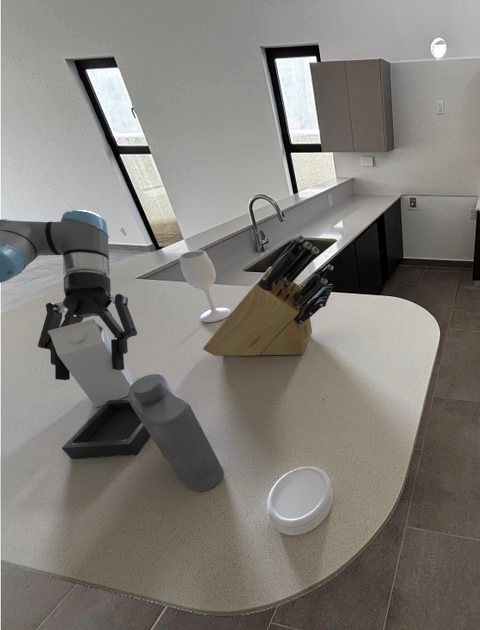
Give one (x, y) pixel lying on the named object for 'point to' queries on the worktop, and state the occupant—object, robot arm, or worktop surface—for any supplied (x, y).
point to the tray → (109, 433)
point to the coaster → (300, 500)
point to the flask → (175, 432)
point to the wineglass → (202, 280)
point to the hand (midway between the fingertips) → (91, 374)
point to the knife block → (275, 309)
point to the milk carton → (91, 361)
